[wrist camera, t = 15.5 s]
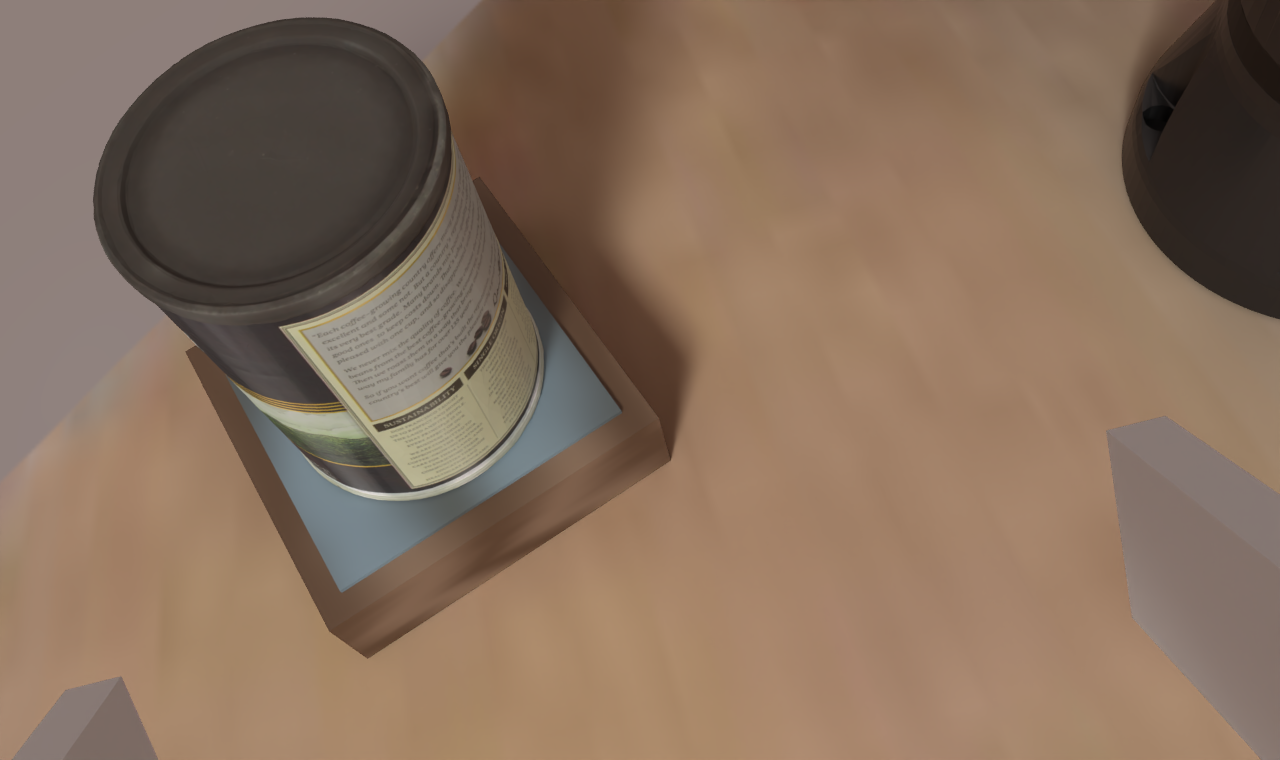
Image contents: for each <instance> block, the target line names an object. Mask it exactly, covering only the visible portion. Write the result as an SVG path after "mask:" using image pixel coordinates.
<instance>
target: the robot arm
mask: <svg viewBox="0 0 1280 760" xmlns="http://www.w3.org/2000/svg"><path fill="white" fill-rule="evenodd" d="M1122 167H1123V176H1124V182H1125V186H1126V190H1127V193H1128V196H1129V199H1130V202H1131V204H1132V207H1133V209H1134V211H1135V213H1136V215H1137V217H1138V219H1139V221H1140V223H1141V224H1142V226H1143V227H1144V229H1145V230H1146V232H1147V233H1148V235H1149V236H1150V237H1151V239H1152V240H1153V241H1154V243H1155V244H1156V245H1157V246H1158V247H1159V248H1160V250H1161V251H1162V252H1163V253H1164V254H1165V255H1166V256H1167V257H1168V258H1169V259H1170V260H1171V261H1172V262H1173V263H1174V264H1175V265H1176V266H1178V267H1179V268H1180V269H1181V270H1182V271H1184V272H1185V273H1186V274H1187V275H1189V276H1190V277H1191V278H1193V279H1194V280H1195V281H1197V282H1198V283H1200V284H1201V285H1203V286H1204V287H1206V288H1207V289H1209V290H1211V291H1213V292H1214V293H1216V294H1218V295H1220V296H1221V297H1223V298H1225V299H1227V300H1229V301H1231V302H1233V303H1236V304H1238V305H1240V306H1243V307H1245V308H1247V309H1250V310H1252V311H1255V312H1258V313H1261V314H1264V315H1267V316H1270V317H1274V318H1277V319H1280V0H1216V1H1215V2H1214V3H1213V4H1212V5H1211V6H1210V7H1209V8H1208V9H1207V10H1206V11H1205V12H1204V13H1203V14H1202V15H1201V16H1200V17H1199V18H1198V19H1197V20H1196V21H1195V22H1194V23H1193V24H1192V25H1191V26H1190V27H1189V28H1188V29H1187V31H1186V32H1185V33H1184V34H1183V35H1182V36H1181V37H1180V38H1179V39H1178V40H1177V41H1176V42H1175V43H1174V44H1173V45H1172V46H1171V47H1170V48H1169V49H1168V50H1167V51H1166V52H1165V53H1164V54H1163V55H1162V57H1161V58H1160V59H1159V60H1158V62H1157V63H1156V65H1155V66H1154V67H1153V69H1152V71H1151V72H1150V74H1149V75H1148V77H1147V79H1146V81H1145V82H1144V84H1143V86H1142V89H1141V91H1140V93H1139V96H1138V99H1137V101H1136V104H1135V107H1134V109H1133V112H1132V115H1131V118H1130V120H1129V123H1128V126H1127V129H1126V133H1125V137H1124V143H1123V150H1122ZM1106 432H1107V439H1108V446H1109V454H1110V461H1111V468H1112V475H1113V483H1114V490H1115V497H1116V504H1117V512H1118V519H1119V526H1120V533H1121V541H1122V548H1123V555H1124V562H1125V570H1126V577H1127V584H1128V591H1129V599H1130V606H1131V613H1132V618H1133V619H1134V620H1135V621H1136V622H1137V624H1138V625H1139V626H1140V627H1141V628H1142V629H1143V630H1144V631H1145V632H1146V633H1147V634H1148V636H1149V637H1150V638H1151V639H1152V640H1153V641H1154V642H1155V643H1156V644H1157V645H1158V647H1159V648H1160V649H1161V650H1162V651H1163V652H1164V653H1165V654H1166V655H1167V656H1168V658H1169V659H1170V660H1171V661H1172V662H1173V663H1174V664H1175V665H1176V666H1177V667H1178V669H1179V670H1180V671H1181V672H1182V673H1183V674H1184V675H1185V676H1186V677H1187V678H1188V680H1189V681H1190V682H1191V683H1192V684H1193V685H1194V686H1195V687H1196V688H1197V689H1198V691H1199V692H1200V693H1201V694H1202V695H1203V696H1204V697H1205V698H1206V699H1207V700H1208V702H1209V703H1210V704H1211V705H1212V706H1213V707H1214V708H1215V709H1216V710H1217V711H1218V713H1219V714H1220V715H1221V716H1222V717H1223V718H1224V719H1225V720H1226V721H1227V722H1228V724H1229V725H1230V726H1231V727H1232V728H1233V729H1234V730H1235V731H1236V732H1237V733H1238V734H1239V736H1240V737H1241V738H1242V739H1243V740H1244V741H1245V742H1246V743H1247V744H1248V745H1249V747H1250V748H1251V749H1252V750H1253V751H1254V752H1255V753H1256V754H1257V755H1258V756H1259V758H1260V759H1261V760H1280V494H1278V493H1277V492H1275V491H1274V490H1272V489H1271V488H1270V487H1268V486H1267V485H1265V484H1264V483H1262V482H1261V481H1259V480H1258V479H1256V478H1255V477H1254V476H1252V475H1251V474H1249V473H1248V472H1246V471H1245V470H1243V469H1242V468H1240V467H1239V466H1238V465H1236V464H1235V463H1233V462H1232V461H1230V460H1229V459H1227V458H1226V457H1224V456H1223V455H1222V454H1220V453H1219V452H1217V451H1216V450H1214V449H1213V448H1211V447H1210V446H1208V445H1207V444H1206V443H1204V442H1203V441H1201V440H1200V439H1198V438H1197V437H1195V436H1194V435H1192V434H1191V433H1190V432H1188V431H1187V430H1185V429H1184V428H1182V427H1181V426H1179V425H1178V424H1177V423H1175V422H1174V421H1172V420H1171V419H1169V418H1168V417H1166V416H1163V417H1159V418H1155V419H1151V420H1147V421H1143V422H1139V423H1135V424H1131V425H1127V426H1123V427H1119V428H1115V429H1111V430H1107V431H1106ZM12 760H158V758H157V756H156V753H155V751H154V749H153V747H152V744H151V742H150V740H149V738H148V735H147V733H146V731H145V729H144V726H143V724H142V722H141V719H140V717H139V715H138V713H137V710H136V708H135V706H134V704H133V701H132V699H131V697H130V695H129V692H128V690H127V688H126V686H125V683H124V681H123V679H122V677H121V676H120V677H116V678H112V679H108V680H104V681H100V682H96V683H92V684H88V685H84V686H80V687H76V688H72V689H68V690H65V692H64V693H63V694H62V695H61V697H60V698H59V699H58V701H57V702H56V703H55V704H54V706H53V707H52V708H51V710H50V711H49V712H48V714H47V715H46V716H45V717H44V719H43V720H42V721H41V723H40V724H39V725H38V726H37V728H36V729H35V730H34V732H33V733H32V734H31V736H30V737H29V738H28V739H27V741H26V742H25V743H24V745H23V746H22V747H21V748H20V750H19V751H18V752H17V754H16V755H15V756H14V758H13V759H12Z"/></svg>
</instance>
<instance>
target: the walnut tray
mask: <svg viewBox="0 0 1280 760" xmlns="http://www.w3.org/2000/svg"><path fill="white" fill-rule="evenodd" d="M473 184H474V186H475V188H476V191H477V193H478V195H479V198H480V200H481V202H482V205H483V207H484V210H485V212H486V214H487V217H488V219H489V221H490V224H491V226H492V228H493V231H494V233H495V235H496V237H497V239H498V242H499V245H500V248H501V250H502V252H503V254H504V257H505V259H506V262H507V264H508V266H509V269H510V271H511V273H512V276H513V278H514V281H515V283H516V285H517V288H518V290H519V292H520V295H521V297H522V299H523V302H524V304H525V306H526V308H527V309H528V311H529V312H530V314H531V315H532V317H533V319H534V321H535V324H536V326H537V328H538V331H539V335H540V339H541V342H542V345H543V349H544V375H543V383H542V388H541V393H540V397H539V400H538V403H537V406H536V408H535V411H534V413H533V415H532V417H531V419H530V421H529V423H528V424H527V426H526V427H525V429H524V431H523V433H522V434H521V436H520V438H519V439H518V441H517V442H516V443H515V445H514V446H513V447H512V448H511V449H510V450H509V451H508V452H507V453H506V454H505V455H504V456H503V457H502V458H501V459H500V460H498V461H497V462H496V463H495V464H494V465H493V466H491V467H490V468H489V469H488V470H486V471H485V472H484V473H482V474H481V475H479V476H478V477H476V478H475V479H473V480H471V481H469V482H467V483H466V484H464V485H462V486H460V487H458V488H455V489H453V490H450V491H448V492H445V493H442V494H440V495H436V496H433V497H429V498H423V499H418V500H409V501H387V500H376V499H371V498H366V497H362V496H359V495H355V494H353V493H350V492H348V491H346V490H343V489H342V488H340V487H338V486H336V485H334V484H332V483H331V482H329V481H328V480H326V479H325V478H324V477H323V476H321V475H320V474H319V473H318V472H317V471H316V470H315V469H314V468H313V467H312V466H311V464H310V463H309V462H308V461H307V460H306V458H305V457H304V456H303V454H302V452H301V451H300V450H299V449H298V448H297V447H296V446H295V445H294V444H293V443H292V442H291V441H290V440H289V439H288V438H287V437H286V436H285V435H284V434H283V433H282V432H281V430H280V429H278V428H277V427H276V426H275V425H274V424H273V423H272V422H271V421H270V420H269V418H268V417H267V416H266V415H265V414H264V413H263V412H262V411H261V410H260V409H259V408H257V407H256V406H255V404H254V403H253V402H252V401H251V400H250V399H249V398H248V397H247V396H246V395H245V394H244V393H243V392H242V391H241V390H240V389H239V388H238V387H237V386H236V385H235V384H234V383H233V382H232V381H231V379H230V378H229V377H228V376H227V375H226V374H225V373H224V372H223V371H222V370H221V369H220V368H219V367H218V366H217V365H216V364H215V363H214V362H213V361H212V360H211V359H210V358H209V357H208V356H207V355H206V354H205V353H204V352H203V351H201V350H200V349H199V348H198V347H197V345H196V346H194V347H192V348H191V349H189V350H187V351H186V354H187V356H188V358H189V360H190V362H191V364H192V365H193V367H194V369H195V371H196V373H197V375H198V377H199V379H200V381H201V383H202V385H203V387H204V389H205V391H206V393H207V395H208V397H209V398H210V400H211V402H212V404H213V406H214V408H215V410H216V412H217V414H218V416H219V418H220V420H221V422H222V424H223V426H224V428H225V430H226V432H227V433H228V435H229V437H230V439H231V441H232V443H233V445H234V447H235V449H236V451H237V453H238V455H239V457H240V459H241V461H242V463H243V465H244V467H245V468H246V470H247V472H248V474H249V476H250V478H251V480H252V482H253V484H254V486H255V488H256V490H257V492H258V494H259V496H260V498H261V500H262V502H263V503H264V505H265V507H266V509H267V511H268V513H269V515H270V517H271V519H272V521H273V523H274V525H275V527H276V529H277V531H278V533H279V535H280V536H281V538H282V540H283V542H284V544H285V546H286V548H287V550H288V552H289V554H290V556H291V558H292V560H293V562H294V564H295V566H296V568H297V570H298V571H299V573H300V575H301V577H302V579H303V581H304V583H305V585H306V587H307V589H308V591H309V593H310V595H311V597H312V599H313V601H314V603H315V605H316V606H317V608H318V610H319V612H320V614H321V616H322V618H323V620H324V622H325V624H326V626H327V628H328V630H329V631H330V632H331V633H332V634H334V635H335V636H337V637H338V638H339V639H341V640H342V641H344V642H345V643H346V644H348V645H349V646H351V647H352V648H353V649H355V650H356V651H358V652H359V653H360V654H362V655H363V656H365V657H366V658H367V659H368V658H369V657H371V656H372V655H374V654H375V653H377V652H378V651H380V650H382V649H383V648H385V647H386V646H388V645H389V644H391V643H392V642H394V641H395V640H397V639H398V638H400V637H401V636H403V635H404V634H406V633H408V632H409V631H411V630H412V629H414V628H415V627H417V626H418V625H420V624H421V623H423V622H424V621H426V620H427V619H429V618H430V617H432V616H434V615H435V614H437V613H438V612H440V611H441V610H443V609H444V608H446V607H447V606H449V605H450V604H452V603H453V602H455V601H456V600H458V599H459V598H461V597H463V596H464V595H466V594H467V593H469V592H470V591H472V590H473V589H475V588H476V587H478V586H479V585H481V584H482V583H484V582H485V581H487V580H489V579H490V578H492V577H493V576H495V575H496V574H498V573H499V572H501V571H502V570H504V569H505V568H507V567H508V566H510V565H511V564H513V563H515V562H516V561H518V560H519V559H521V558H522V557H524V556H525V555H527V554H528V553H530V552H531V551H533V550H534V549H536V548H537V547H539V546H540V545H542V544H544V543H545V542H547V541H548V540H550V539H551V538H553V537H554V536H556V535H557V534H559V533H560V532H562V531H563V530H565V529H566V528H568V527H570V526H571V525H573V524H574V523H576V522H577V521H579V520H580V519H582V518H583V517H585V516H586V515H588V514H589V513H591V512H592V511H594V510H596V509H597V508H599V507H600V506H602V505H603V504H605V503H606V502H608V501H609V500H611V499H612V498H614V497H615V496H617V495H618V494H620V493H622V492H623V491H625V490H626V489H628V488H629V487H631V486H632V485H634V484H635V483H637V482H638V481H640V480H641V479H643V478H644V477H646V476H647V475H649V474H651V473H652V472H654V471H655V470H657V469H658V468H660V467H661V466H663V465H664V464H666V463H667V462H669V461H670V460H671V459H670V456H669V452H668V449H667V445H666V442H665V438H664V434H663V431H662V427H661V424H660V420H659V418H658V416H657V415H656V414H655V412H654V411H653V409H652V408H651V407H650V405H649V404H648V403H647V401H646V400H645V399H644V397H643V396H642V395H641V393H640V392H639V391H638V389H637V388H636V387H635V385H634V384H633V383H632V381H631V380H630V379H629V377H628V376H627V375H626V373H625V372H624V371H623V369H622V368H621V366H620V365H619V364H618V362H617V361H616V360H615V358H614V357H613V356H612V354H611V353H610V352H609V350H608V349H607V348H606V346H605V345H604V344H603V342H602V341H601V340H600V338H599V337H598V336H597V334H596V333H595V332H594V330H593V329H592V328H591V326H590V325H589V323H588V322H587V321H586V319H585V318H584V317H583V315H582V314H581V313H580V311H579V310H578V309H577V307H576V306H575V305H574V303H573V302H572V301H571V299H570V298H569V297H568V295H567V294H566V293H565V291H564V290H563V289H562V287H561V286H560V285H559V283H558V282H557V281H556V279H555V278H554V276H553V275H552V274H551V272H550V271H549V270H548V268H547V267H546V266H545V264H544V263H543V262H542V260H541V259H540V258H539V256H538V255H537V254H536V252H535V251H534V250H533V248H532V247H531V246H530V244H529V243H528V242H527V240H526V239H525V238H524V236H523V235H522V233H521V232H520V231H519V229H518V228H517V227H516V225H515V224H514V223H513V221H512V220H511V219H510V217H509V216H508V215H507V213H506V212H505V211H504V209H503V208H502V207H501V205H500V204H499V203H498V201H497V200H496V199H495V197H494V196H493V195H492V193H491V192H490V190H489V189H488V188H487V186H486V185H485V184H484V182H483V181H482V180H481V178H480V177H479V178H477V179H475V180H473Z"/></svg>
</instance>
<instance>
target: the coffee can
mask: <svg viewBox="0 0 1280 760" xmlns="http://www.w3.org/2000/svg"><path fill="white" fill-rule="evenodd" d="M93 203H94V220H95V225H96V230H97V233H98V236H99V239H100V242H101V245H102V247H103V249H104V251H105V253H106V255H107V257H108V259H109V260H110V261H111V263H112V264H113V266H114V267H115V268H116V269H117V270H118V272H119V273H120V274H121V275H122V276H123V277H124V278H125V280H126V281H127V282H128V283H130V284H131V285H132V286H133V287H134V288H135V289H136V290H138V291H139V292H140V293H141V294H142V295H143V296H145V297H146V298H147V299H149V300H150V301H152V302H153V303H155V304H156V305H157V306H158V307H159V308H160V309H161V310H162V311H163V312H164V313H165V314H166V315H167V316H168V317H169V318H170V319H171V320H172V321H173V322H174V323H175V324H176V325H177V326H178V327H179V328H180V329H181V330H182V331H183V332H184V333H185V334H186V335H187V336H188V337H189V338H190V339H191V340H192V341H193V342H194V343H195V344H196V345H197V347H198V348H199V349H200V350H201V351H203V352H204V353H205V354H206V355H207V356H208V357H209V358H210V359H211V360H212V361H213V362H214V363H215V364H216V365H217V366H218V367H219V368H220V369H221V370H222V371H223V372H224V373H225V374H226V375H227V376H228V377H229V378H230V379H231V381H232V382H233V383H234V384H235V385H236V386H237V387H238V388H239V389H240V390H241V391H242V392H243V393H244V394H245V395H246V396H247V397H248V398H249V399H250V400H251V401H252V402H253V403H254V404H255V406H256V407H257V408H259V409H260V410H261V411H262V412H263V413H264V414H265V415H266V416H267V417H268V418H269V420H270V421H271V422H272V423H273V424H274V425H275V426H276V427H277V428H278V429H280V430H281V432H282V433H283V434H284V435H285V436H286V437H287V438H288V439H289V440H290V441H291V442H292V443H293V444H294V445H295V446H296V447H297V448H298V449H299V450H300V451H301V452H302V454H303V456H304V457H305V458H306V460H307V461H308V462H309V463H310V464H311V466H312V467H313V468H314V469H315V470H316V471H317V472H318V473H319V474H320V475H321V476H323V477H324V478H325V479H326V480H328V481H329V482H331V483H332V484H334V485H336V486H338V487H340V488H342V489H343V490H346V491H348V492H350V493H353V494H355V495H359V496H362V497H366V498H371V499H376V500H387V501H409V500H418V499H423V498H429V497H433V496H436V495H440V494H442V493H445V492H448V491H450V490H453V489H455V488H458V487H460V486H462V485H464V484H466V483H467V482H469V481H471V480H473V479H475V478H476V477H478V476H479V475H481V474H482V473H484V472H485V471H486V470H488V469H489V468H490V467H491V466H493V465H494V464H495V463H496V462H497V461H498V460H500V459H501V458H502V457H503V456H504V455H505V454H506V453H507V452H508V451H509V450H510V449H511V448H512V447H513V446H514V445H515V443H516V442H517V441H518V439H519V438H520V436H521V434H522V433H523V431H524V429H525V427H526V426H527V424H528V423H529V421H530V419H531V417H532V415H533V413H534V411H535V408H536V406H537V403H538V400H539V397H540V393H541V388H542V383H543V375H544V349H543V345H542V342H541V339H540V335H539V331H538V328H537V326H536V324H535V321H534V319H533V317H532V315H531V314H530V312H529V311H528V309H527V308H526V306H525V304H524V302H523V299H522V297H521V295H520V292H519V290H518V288H517V285H516V283H515V281H514V278H513V276H512V273H511V271H510V269H509V266H508V264H507V262H506V259H505V257H504V254H503V252H502V250H501V248H500V245H499V242H498V239H497V237H496V235H495V233H494V231H493V228H492V226H491V224H490V221H489V219H488V217H487V214H486V212H485V210H484V207H483V205H482V202H481V200H480V198H479V195H478V193H477V191H476V188H475V186H474V184H473V181H472V179H471V176H470V174H469V172H468V169H467V167H466V165H465V163H464V160H463V158H462V155H461V153H460V151H459V148H458V146H457V143H456V141H455V139H454V136H453V134H452V132H451V127H450V121H449V116H448V112H447V109H446V106H445V104H444V101H443V98H442V95H441V93H440V90H439V88H438V86H437V84H436V82H435V80H434V78H433V77H432V75H431V73H430V71H429V70H428V69H427V67H426V66H425V65H424V63H423V62H422V61H421V60H420V59H419V58H418V57H417V56H416V55H415V54H414V53H413V52H412V51H411V50H409V49H408V48H407V47H405V46H404V45H403V44H401V43H400V42H398V41H397V40H395V39H393V38H392V37H390V36H389V35H387V34H385V33H383V32H380V31H378V30H375V29H373V28H370V27H367V26H364V25H361V24H357V23H353V22H349V21H345V20H340V19H332V18H293V19H284V20H277V21H273V22H268V23H264V24H260V25H256V26H253V27H249V28H246V29H243V30H239V31H237V32H234V33H231V34H229V35H226V36H224V37H221V38H219V39H217V40H214V41H212V42H210V43H208V44H206V45H204V46H203V47H201V48H199V49H197V50H195V51H194V52H192V53H190V54H189V55H187V56H186V57H184V58H183V59H181V60H180V61H179V62H178V63H176V64H174V65H173V66H172V67H171V68H170V69H168V70H167V71H166V72H164V73H163V74H162V75H161V76H160V77H158V78H157V79H156V80H155V81H154V82H153V83H152V84H151V85H150V86H149V87H148V88H147V89H146V90H145V91H144V92H143V93H142V94H141V95H140V96H139V97H138V98H137V100H136V101H135V102H134V103H133V104H132V105H131V107H130V108H129V109H128V111H127V112H126V113H125V114H124V116H123V117H122V118H121V120H120V121H119V123H118V125H117V126H116V127H115V129H114V131H113V132H112V135H111V137H110V139H109V141H108V142H107V144H106V146H105V149H104V152H103V155H102V157H101V160H100V163H99V167H98V170H97V174H96V180H95V187H94V197H93Z"/></svg>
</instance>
